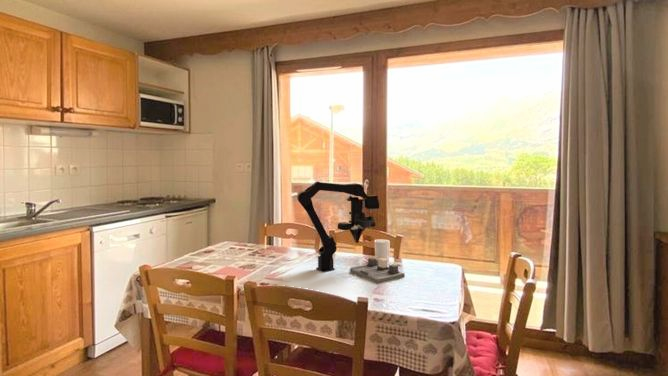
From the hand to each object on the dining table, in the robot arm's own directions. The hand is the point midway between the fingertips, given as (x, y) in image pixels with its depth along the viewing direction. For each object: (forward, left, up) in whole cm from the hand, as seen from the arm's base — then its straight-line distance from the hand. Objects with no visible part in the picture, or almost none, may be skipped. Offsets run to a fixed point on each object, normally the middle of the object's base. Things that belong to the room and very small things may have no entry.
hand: (357, 242), depth 191 cm
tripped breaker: (+4, -14, -10) cm, 18 cm away
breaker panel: (0, -14, -12) cm, 18 cm away
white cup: (+19, +4, -12) cm, 23 cm away
